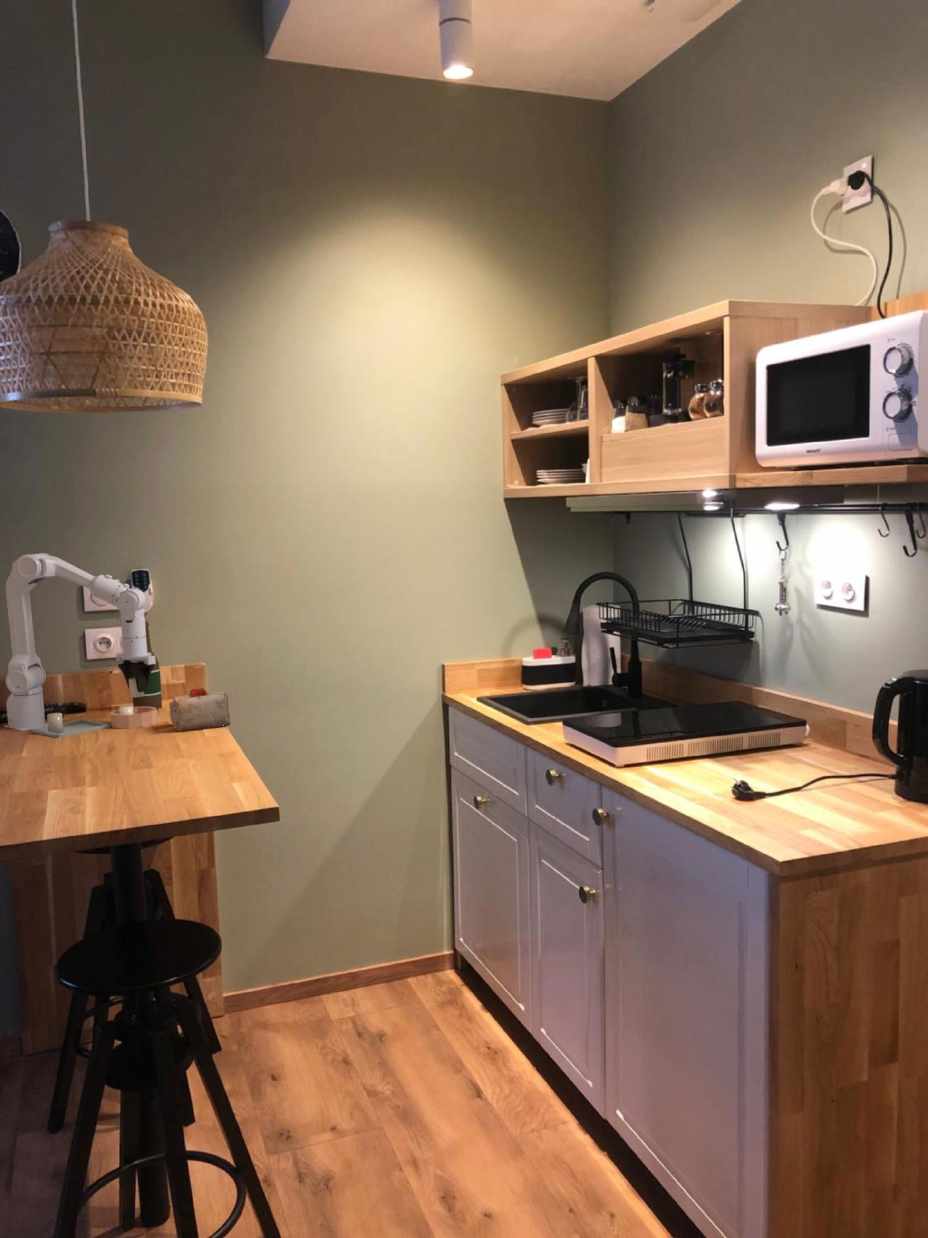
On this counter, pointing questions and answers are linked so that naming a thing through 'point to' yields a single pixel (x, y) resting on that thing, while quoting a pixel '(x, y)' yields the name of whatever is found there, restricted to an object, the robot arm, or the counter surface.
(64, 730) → the tray
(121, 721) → the bowl
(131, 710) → the cream white cylinder
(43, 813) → the counter surface
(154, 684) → the beer bottle
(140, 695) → the glossy cream rounded cylinder
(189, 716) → the weathered grey box
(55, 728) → the white cylinder
